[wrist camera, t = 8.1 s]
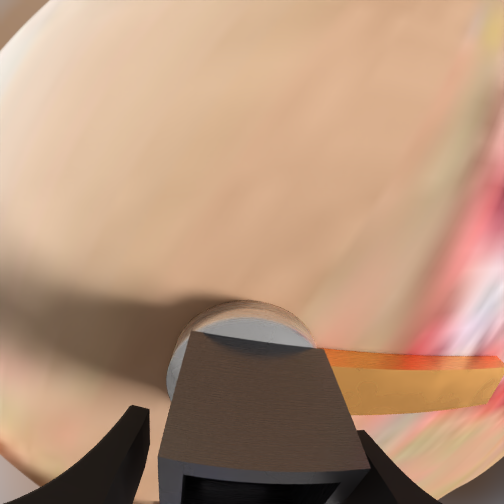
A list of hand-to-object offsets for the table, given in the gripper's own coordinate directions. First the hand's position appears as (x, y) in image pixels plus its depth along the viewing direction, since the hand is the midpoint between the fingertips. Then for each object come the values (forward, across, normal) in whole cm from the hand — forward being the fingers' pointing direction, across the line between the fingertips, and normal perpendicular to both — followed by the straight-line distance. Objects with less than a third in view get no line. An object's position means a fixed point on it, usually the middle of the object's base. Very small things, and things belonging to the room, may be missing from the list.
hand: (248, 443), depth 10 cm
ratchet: (+5, -7, 0) cm, 8 cm away
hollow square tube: (+3, 0, 0) cm, 3 cm away
